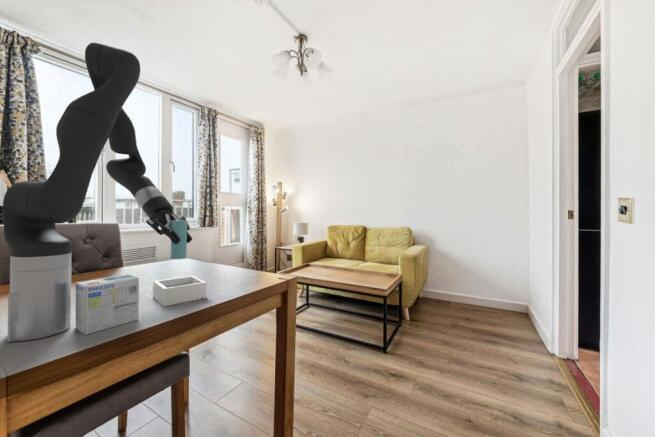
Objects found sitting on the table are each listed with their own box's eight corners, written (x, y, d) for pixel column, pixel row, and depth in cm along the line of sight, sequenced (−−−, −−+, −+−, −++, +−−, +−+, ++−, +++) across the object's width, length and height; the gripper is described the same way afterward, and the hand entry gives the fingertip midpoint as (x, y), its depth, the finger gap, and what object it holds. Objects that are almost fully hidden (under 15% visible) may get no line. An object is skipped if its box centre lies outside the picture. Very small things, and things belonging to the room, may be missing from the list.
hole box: (163, 306, 77) (164, 289, 77) (153, 296, 85) (153, 281, 85) (206, 297, 85) (206, 282, 85) (192, 289, 94) (193, 275, 94)
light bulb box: (127, 314, 70) (128, 273, 70) (139, 320, 67) (140, 277, 67) (73, 328, 61) (74, 281, 61) (84, 335, 58) (85, 286, 58)
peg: (173, 259, 82) (174, 220, 82) (168, 257, 85) (169, 220, 85) (188, 258, 85) (189, 220, 85) (183, 256, 88) (184, 220, 88)
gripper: (141, 193, 80) (173, 235, 77) (178, 197, 94) (206, 232, 91) (126, 210, 81) (158, 252, 79) (165, 211, 95) (193, 247, 92)
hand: (184, 241), depth 85 cm, fingers closed on peg, 4 cm apart
